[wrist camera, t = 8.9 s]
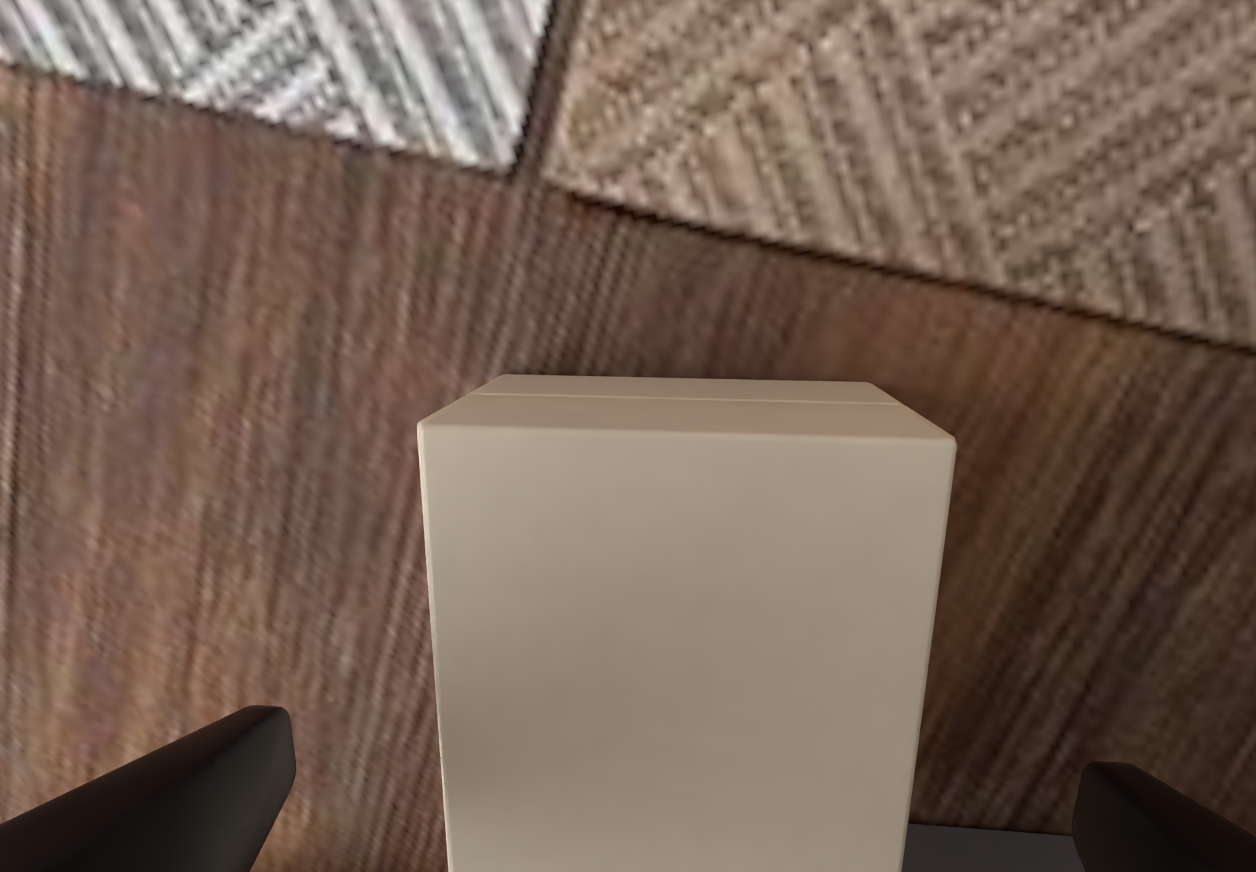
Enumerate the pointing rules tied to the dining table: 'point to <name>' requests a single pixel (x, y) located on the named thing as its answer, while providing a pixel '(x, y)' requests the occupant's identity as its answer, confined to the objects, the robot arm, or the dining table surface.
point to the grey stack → (986, 851)
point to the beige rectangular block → (668, 395)
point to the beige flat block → (681, 633)
